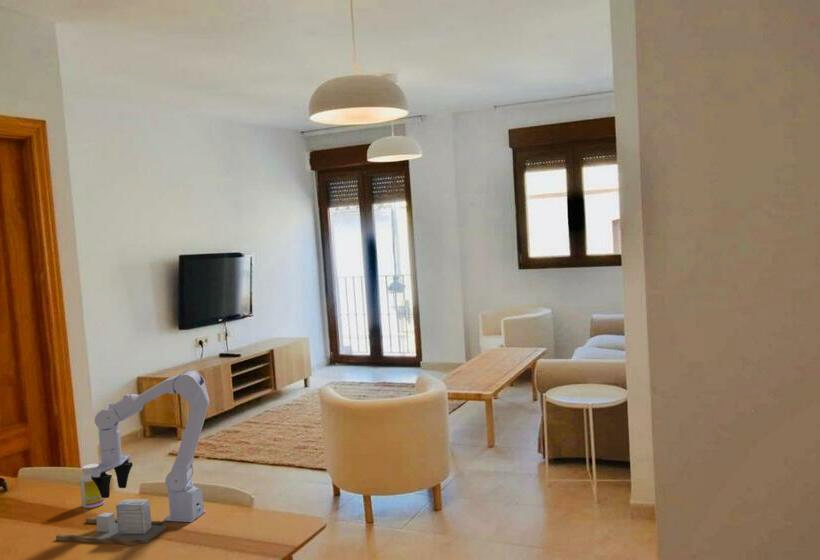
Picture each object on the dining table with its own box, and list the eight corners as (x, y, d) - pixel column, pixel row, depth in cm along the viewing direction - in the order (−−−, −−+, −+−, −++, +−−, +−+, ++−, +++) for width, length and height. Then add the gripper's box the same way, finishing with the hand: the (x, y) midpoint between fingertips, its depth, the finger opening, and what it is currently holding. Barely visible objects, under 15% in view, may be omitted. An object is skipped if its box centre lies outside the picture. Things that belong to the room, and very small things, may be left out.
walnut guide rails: (163, 525, 188) (163, 521, 188) (135, 545, 176) (135, 541, 176) (88, 521, 194) (88, 517, 194) (56, 540, 182) (55, 535, 182)
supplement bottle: (109, 502, 208) (106, 464, 208) (89, 510, 203) (86, 470, 202) (97, 499, 212) (94, 461, 211) (78, 506, 206) (74, 467, 206)
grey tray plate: (166, 528, 186) (164, 510, 185) (146, 542, 177) (144, 524, 177) (111, 525, 190) (110, 507, 190) (89, 539, 181) (88, 520, 181)
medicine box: (152, 527, 185) (150, 498, 184) (144, 534, 180) (142, 504, 180) (126, 528, 186) (124, 498, 185) (117, 535, 181) (115, 505, 181)
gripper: (115, 440, 198) (118, 483, 199) (81, 455, 184) (85, 501, 185) (135, 440, 197) (138, 483, 197) (102, 455, 183) (106, 502, 183)
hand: (114, 492), depth 191 cm, fingers open, 7 cm apart
